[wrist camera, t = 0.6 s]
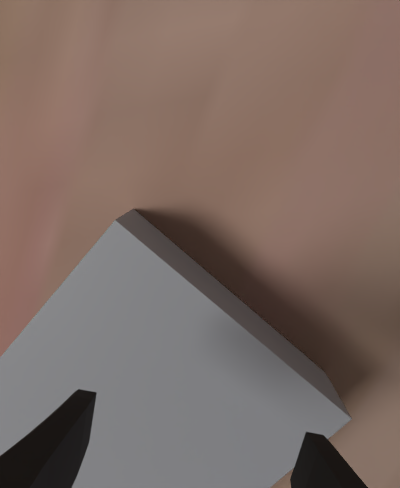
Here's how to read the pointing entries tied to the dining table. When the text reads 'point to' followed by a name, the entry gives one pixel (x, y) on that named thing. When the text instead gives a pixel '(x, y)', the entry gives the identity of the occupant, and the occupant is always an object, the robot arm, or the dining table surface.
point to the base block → (164, 372)
